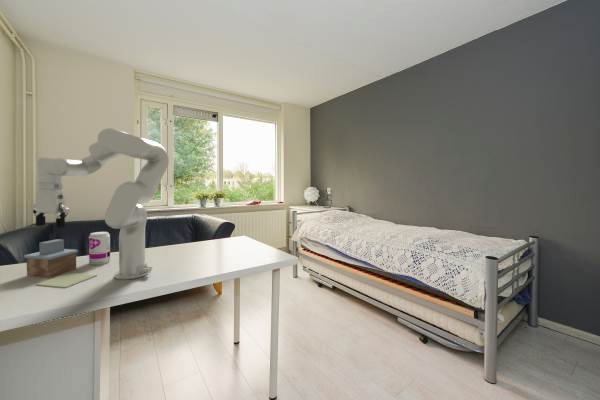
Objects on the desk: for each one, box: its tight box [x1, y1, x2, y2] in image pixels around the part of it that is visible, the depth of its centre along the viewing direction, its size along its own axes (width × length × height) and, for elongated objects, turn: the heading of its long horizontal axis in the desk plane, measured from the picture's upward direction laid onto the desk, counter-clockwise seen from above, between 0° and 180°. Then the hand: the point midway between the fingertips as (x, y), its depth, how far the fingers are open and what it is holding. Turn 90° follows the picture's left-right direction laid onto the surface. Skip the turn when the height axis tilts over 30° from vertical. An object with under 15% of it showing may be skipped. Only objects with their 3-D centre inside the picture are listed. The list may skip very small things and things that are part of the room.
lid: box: [23, 238, 79, 260], centre depth 111 cm, size 12×12×7 cm
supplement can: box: [88, 231, 111, 266], centre depth 126 cm, size 8×8×15 cm
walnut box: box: [26, 252, 77, 279], centre depth 111 cm, size 11×11×8 cm
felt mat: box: [35, 272, 97, 289], centre depth 104 cm, size 13×13×1 cm
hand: (50, 226), depth 110 cm, fingers open, 9 cm apart
